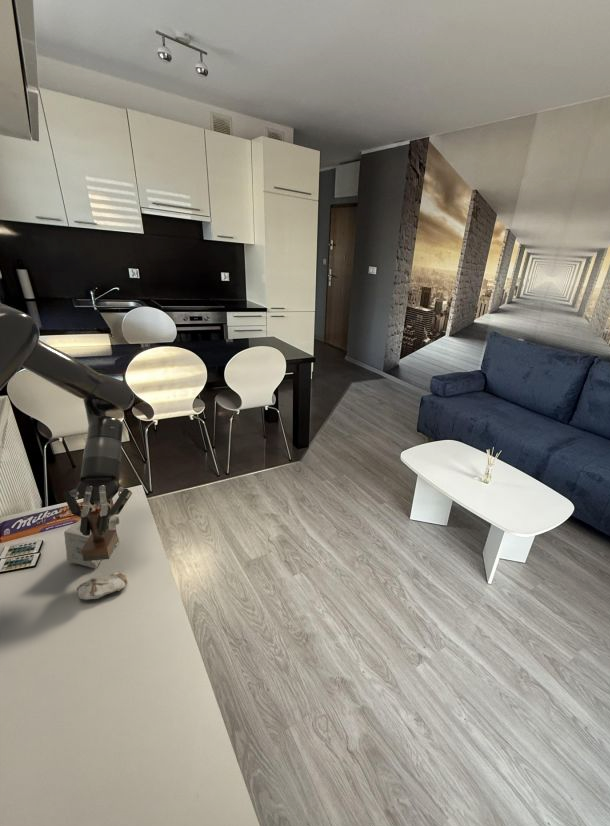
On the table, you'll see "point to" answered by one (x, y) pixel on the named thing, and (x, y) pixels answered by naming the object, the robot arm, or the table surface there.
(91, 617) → the table surface
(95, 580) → the stone
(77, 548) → the incense holder
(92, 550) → the stamp
